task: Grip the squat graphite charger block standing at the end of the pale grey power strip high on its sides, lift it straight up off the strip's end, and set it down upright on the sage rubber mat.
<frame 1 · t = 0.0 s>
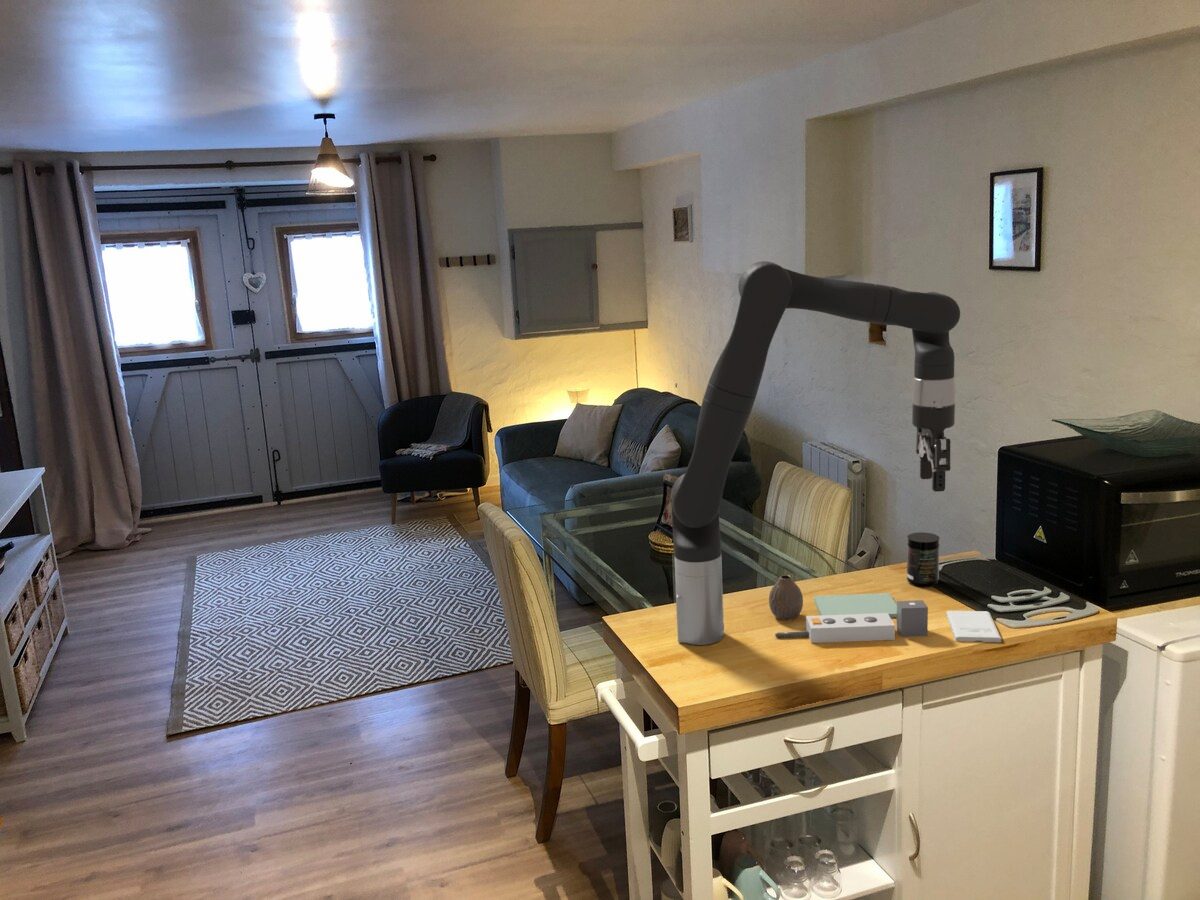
hand: (932, 484, 188), 29 cm above the counter, fingers open, 8 cm apart
power strip: (849, 634, 194), on the counter
supplement container: (922, 582, 218), on the counter
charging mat: (856, 608, 206), on the counter
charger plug: (911, 632, 193), on the counter
external hard drive: (972, 631, 194), on the counter
vase: (786, 617, 204), on the counter
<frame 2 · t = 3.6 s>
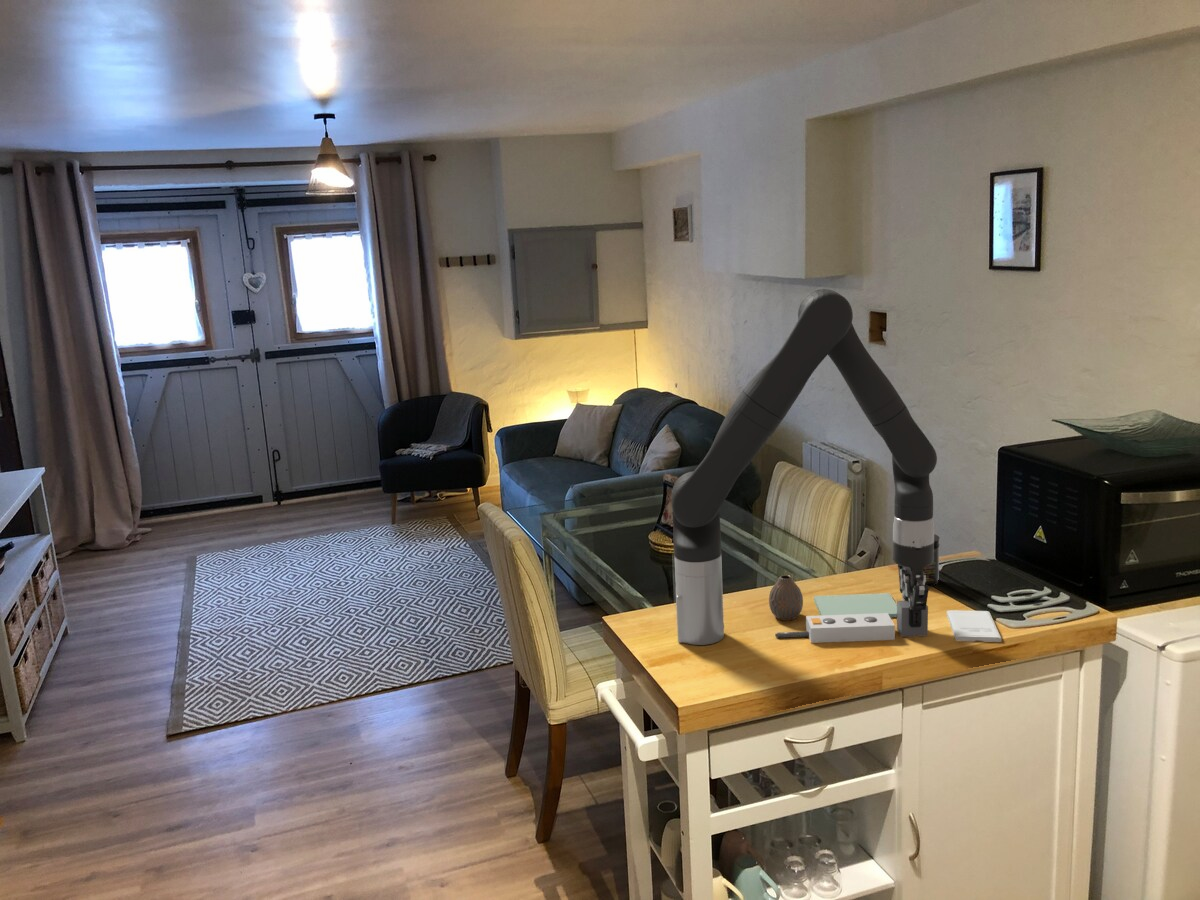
hand: (912, 621, 193), 2 cm above the counter, fingers closed on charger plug, 3 cm apart
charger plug: (912, 632, 193), on the counter, touching gripper
everything else where it was.
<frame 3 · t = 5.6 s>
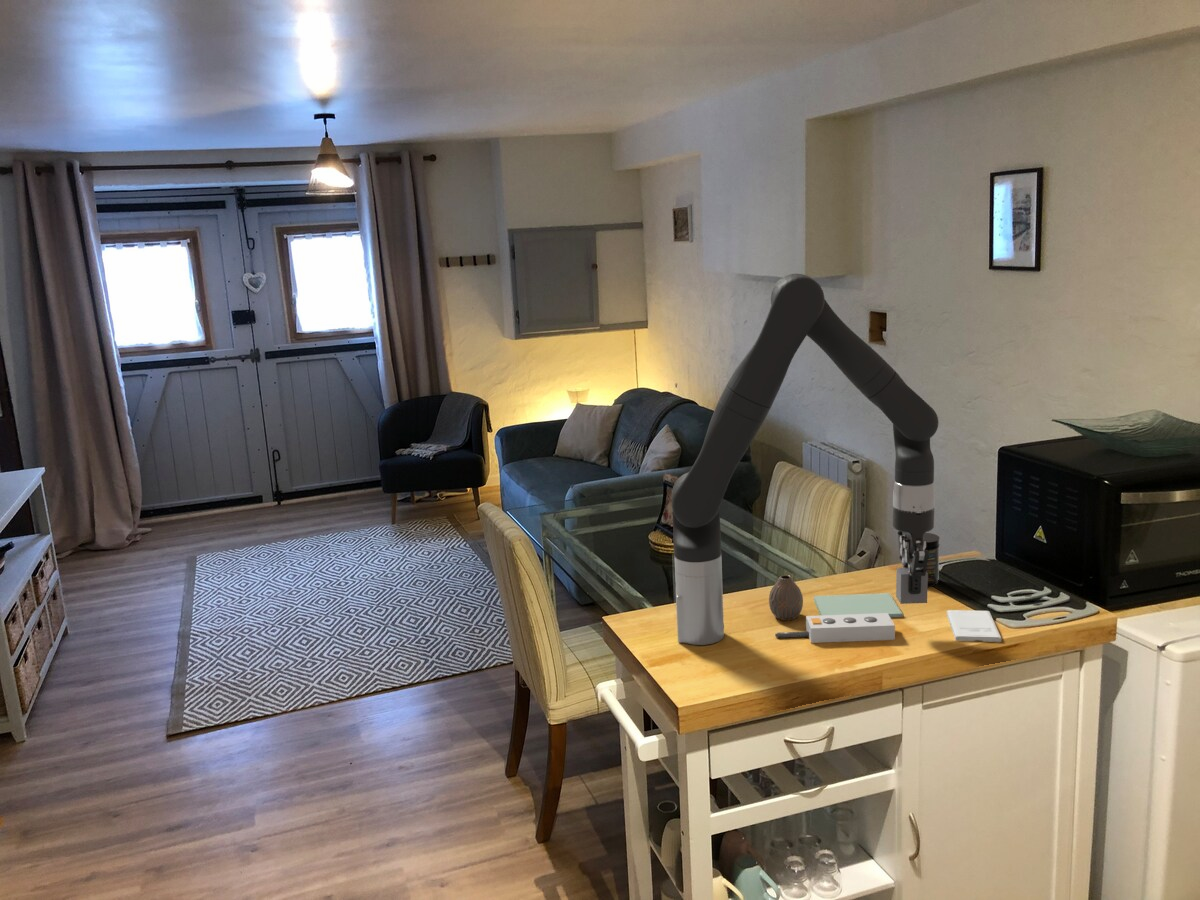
hand: (911, 589, 191), 9 cm above the counter, fingers closed on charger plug, 3 cm apart
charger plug: (911, 599, 192), point 7 cm above the counter, touching gripper
everything else where it was.
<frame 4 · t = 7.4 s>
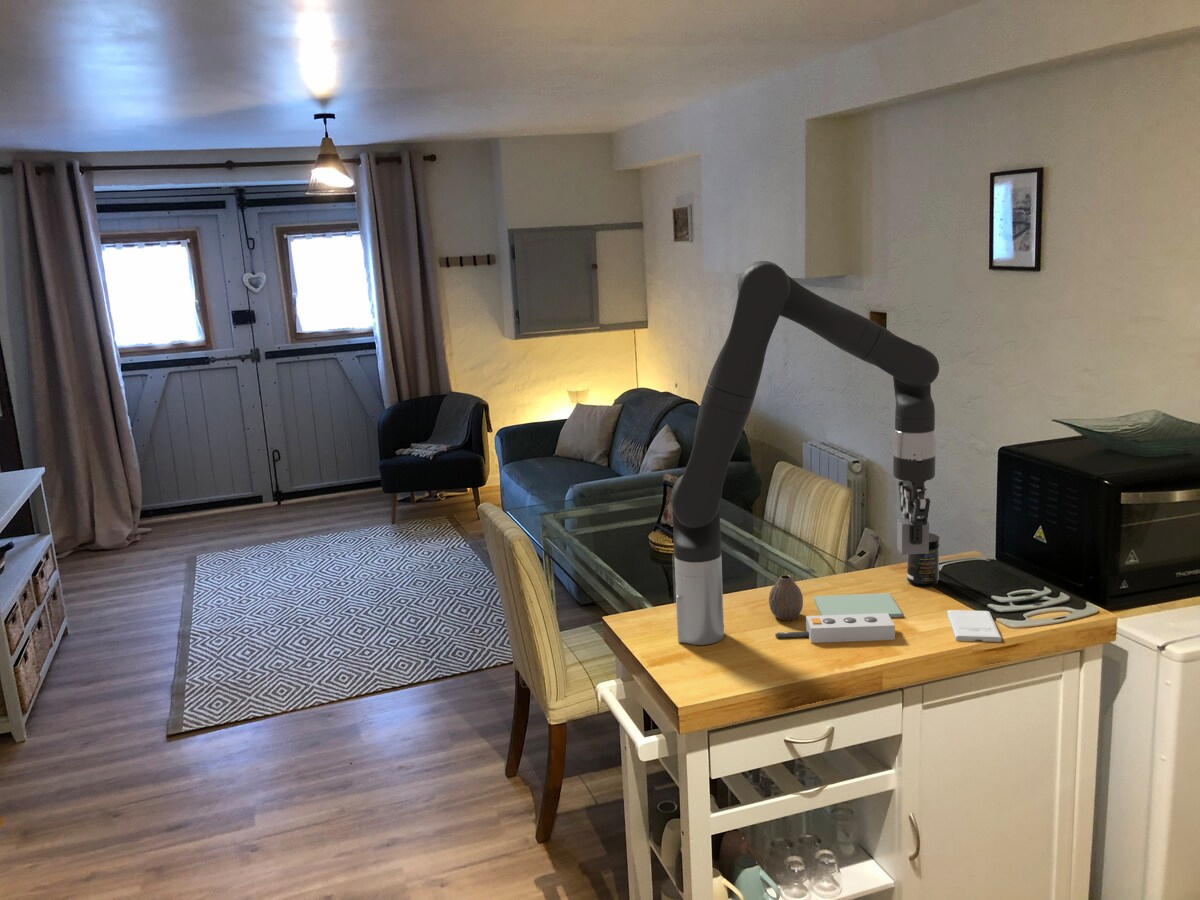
hand: (913, 539, 189), 19 cm above the counter, fingers closed on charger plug, 3 cm apart
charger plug: (912, 550, 189), point 17 cm above the counter, touching gripper
everything else where it was.
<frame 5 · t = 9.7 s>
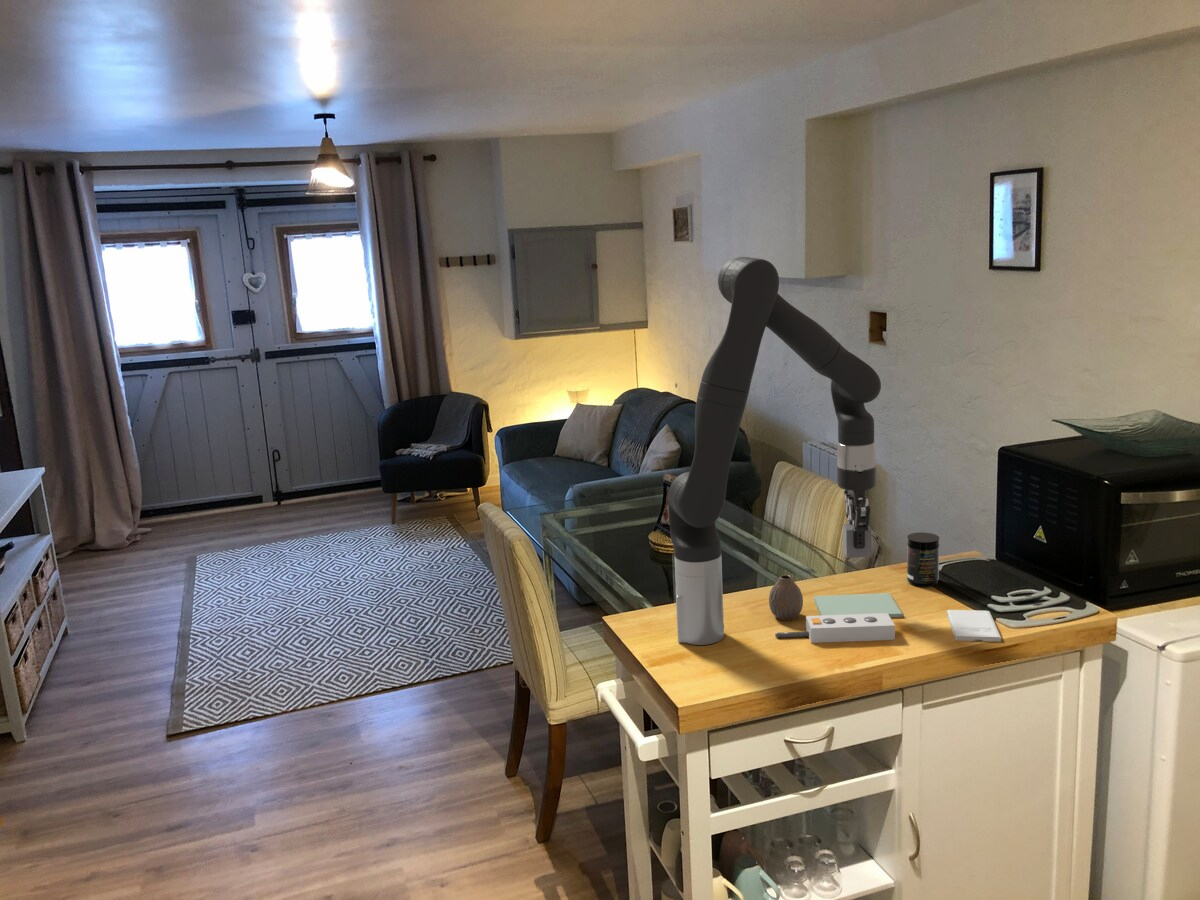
hand: (857, 544, 203), 14 cm above the counter, fingers closed on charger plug, 3 cm apart
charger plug: (857, 554, 203), point 12 cm above the counter, touching gripper
everything else where it was.
when the fingers open (4 cm above the counter, at t = 11.6 s): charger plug stays where it is, resting on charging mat.
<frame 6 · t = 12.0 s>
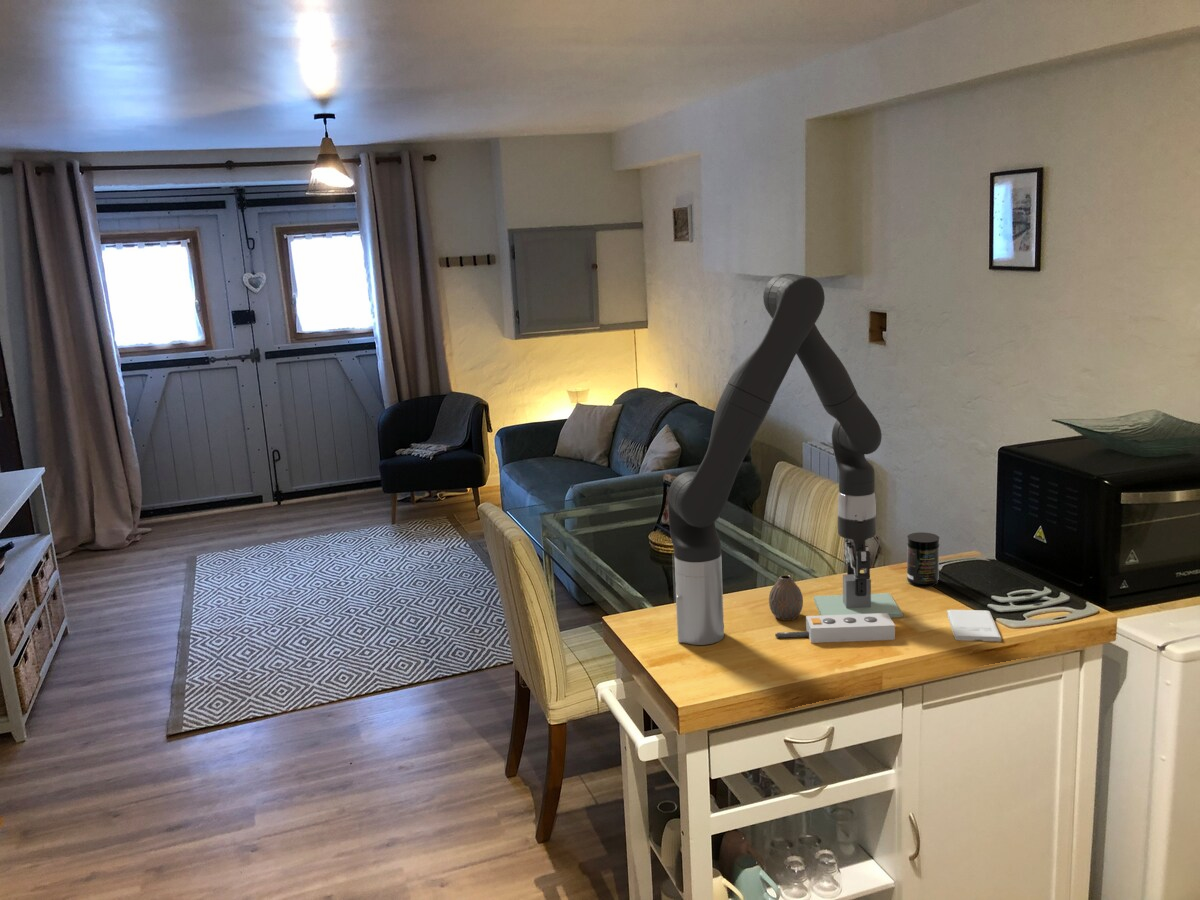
hand: (856, 588, 205), 4 cm above the counter, fingers open, 7 cm apart
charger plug: (856, 604, 206), point 1 cm above the counter, touching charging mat
everything else where it was.
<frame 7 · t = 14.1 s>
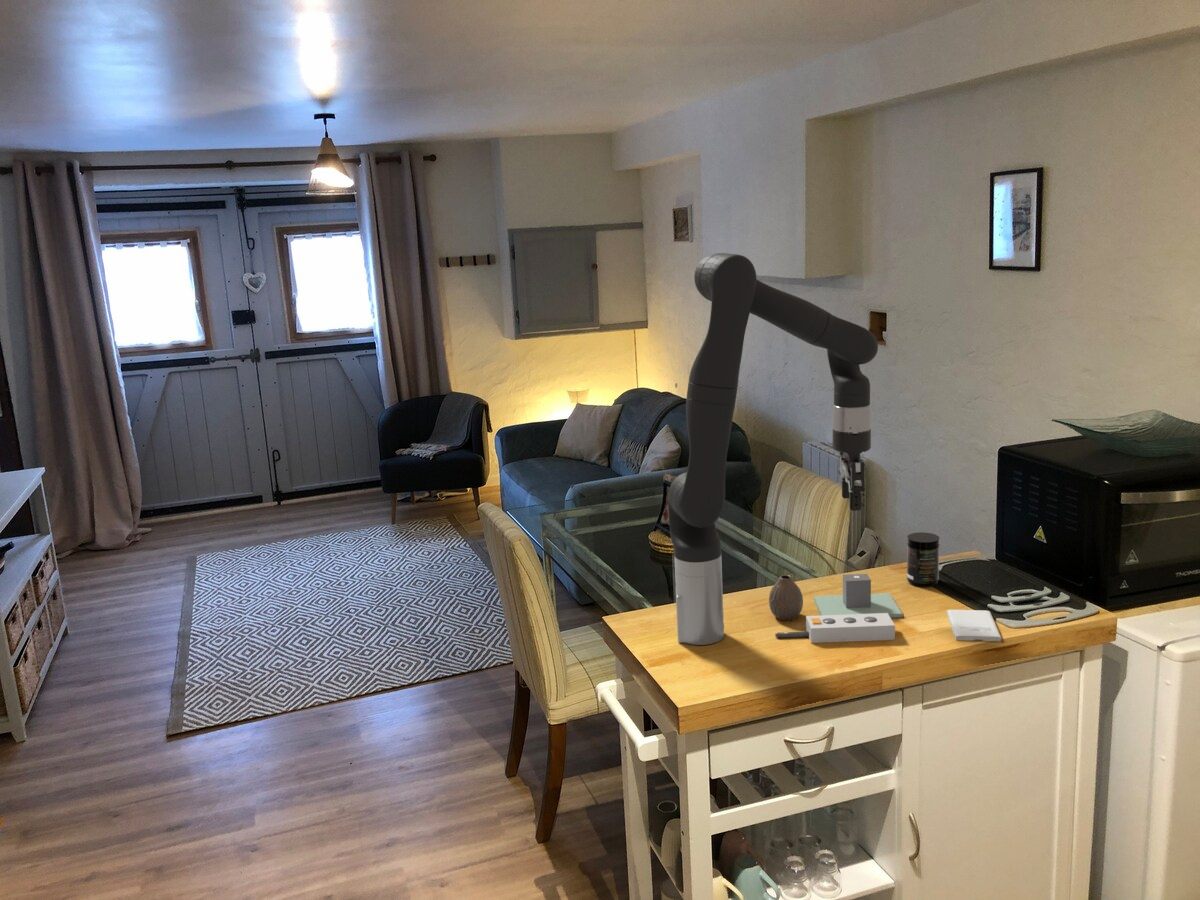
hand: (851, 503, 202), 22 cm above the counter, fingers open, 8 cm apart
nothing on the counter moved.
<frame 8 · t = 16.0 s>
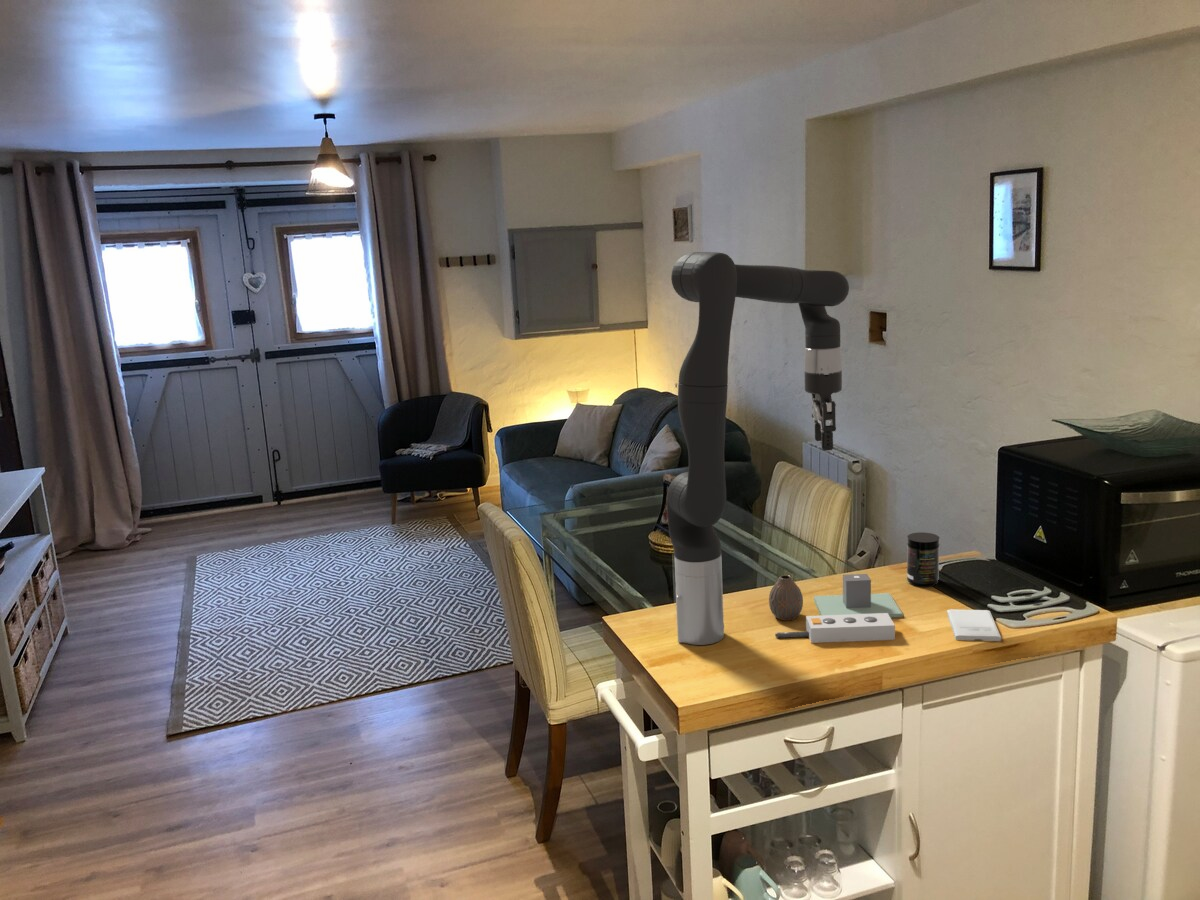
hand: (823, 445, 207), 33 cm above the counter, fingers open, 8 cm apart
nothing on the counter moved.
at the end: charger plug inside the target area on the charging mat (0.0 cm from its centre), point 0.8 cm above the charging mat's base; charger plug tilted 0°; the gripper is holding nothing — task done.
